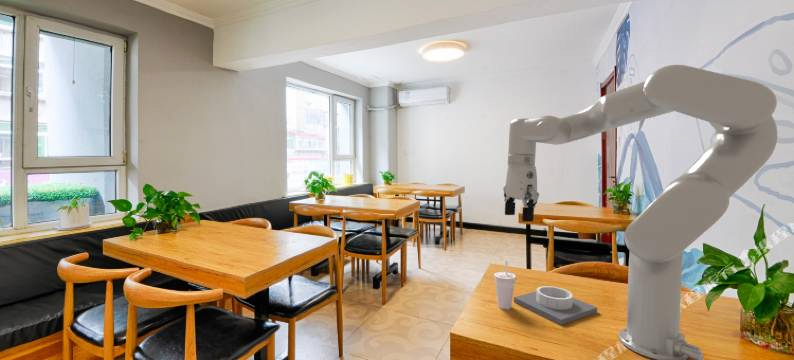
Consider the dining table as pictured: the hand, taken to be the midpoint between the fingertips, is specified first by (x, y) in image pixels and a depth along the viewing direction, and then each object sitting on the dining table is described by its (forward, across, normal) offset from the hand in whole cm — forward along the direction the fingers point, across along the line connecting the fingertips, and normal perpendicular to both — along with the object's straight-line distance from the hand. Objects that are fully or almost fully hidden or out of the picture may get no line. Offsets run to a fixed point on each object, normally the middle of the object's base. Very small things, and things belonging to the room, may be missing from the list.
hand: (518, 217), depth 94 cm
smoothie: (+27, -1, +4) cm, 27 cm away
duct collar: (+26, -4, -11) cm, 29 cm away
